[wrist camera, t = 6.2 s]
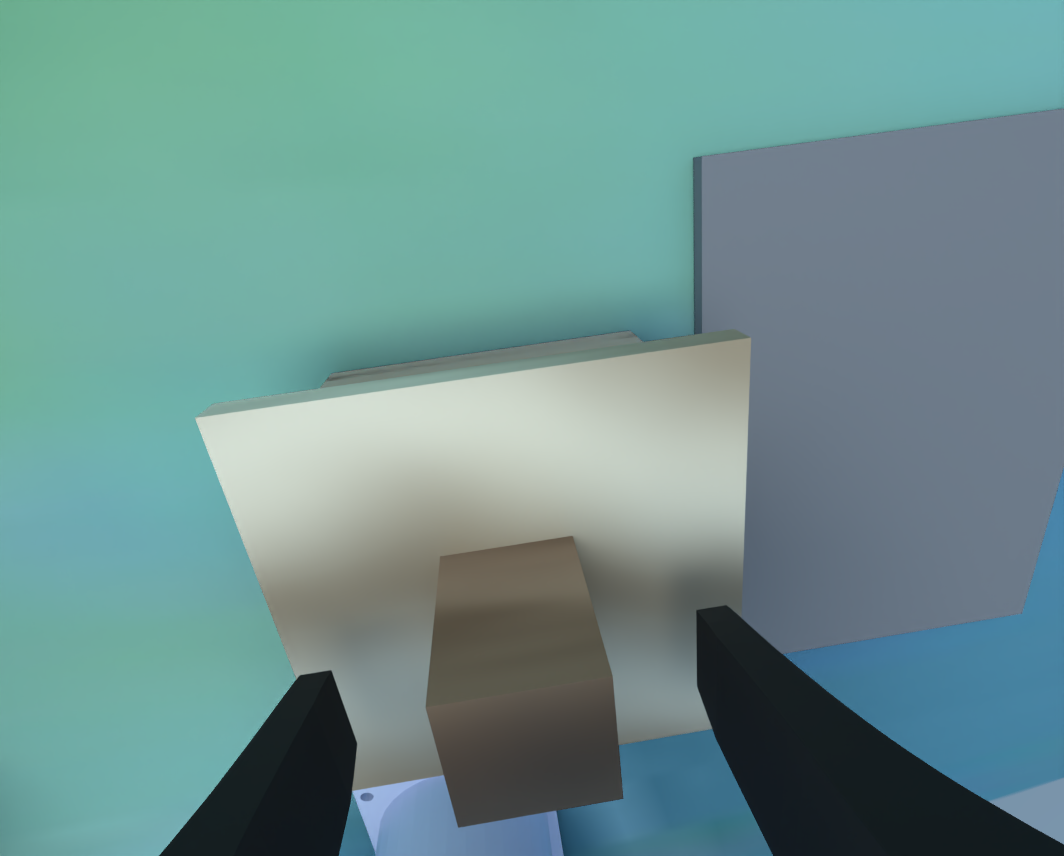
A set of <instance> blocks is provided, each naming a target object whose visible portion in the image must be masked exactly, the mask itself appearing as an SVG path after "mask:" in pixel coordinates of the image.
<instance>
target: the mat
mask: <svg viewBox="0 0 1064 856" xmlns="http://www.w3.org/2000/svg"><path fill="white" fill-rule="evenodd" d="M694 292H695V334H702V333H709V332H716V331H723V330H730V329H735V330H737V331H739V332H741V333H743V334H745V335H747V336H749V337H751V357H750V386H749V415H748V444H747V472H746V501H745V530H744V559H743V588H742V617H741V618H742V619H743V620H744V621H746V622H747V623H748V624H749V625H750V626H751V627H752V628H753V629H754V630H756V631H757V632H758V633H759V634H760V635H761V636H762V637H763V638H765V639H766V640H767V641H768V642H769V643H770V644H771V645H772V646H774V647H775V648H776V649H777V650H778V651H779V652H780V653H782V654H785V653H791V652H797V651H803V650H808V649H814V648H820V647H826V646H832V645H838V644H844V643H850V642H856V641H862V640H868V639H874V638H880V637H886V636H891V635H897V634H903V633H909V632H915V631H921V630H927V629H933V628H939V627H945V626H951V625H957V624H963V623H969V622H974V621H980V620H986V619H992V618H998V617H1004V616H1010V615H1016V614H1022V611H1023V608H1024V604H1025V601H1026V597H1027V594H1028V590H1029V587H1030V583H1031V580H1032V576H1033V573H1034V569H1035V566H1036V562H1037V559H1038V555H1039V552H1040V548H1041V545H1042V541H1043V538H1044V534H1045V531H1046V527H1047V524H1048V520H1049V517H1050V513H1051V510H1052V506H1053V503H1054V499H1055V496H1056V492H1057V489H1058V485H1059V482H1060V478H1061V475H1062V471H1063V468H1064V109H1057V110H1050V111H1042V112H1034V113H1027V114H1019V115H1012V116H1004V117H997V118H989V119H982V120H974V121H966V122H959V123H951V124H944V125H936V126H929V127H921V128H913V129H906V130H898V131H891V132H883V133H876V134H868V135H861V136H853V137H845V138H838V139H830V140H823V141H815V142H808V143H800V144H792V145H785V146H777V147H770V148H762V149H755V150H747V151H740V152H732V153H724V154H717V155H709V156H702V157H696V158H694Z"/></svg>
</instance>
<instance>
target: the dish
mask: <svg viewBox="0 0 1064 856" xmlns="http://www.w3.org/2000/svg"><path fill="white" fill-rule="evenodd" d="M639 342H643V341H642V340H640V339H639V338H638V337H637V336H636V335H635V334H634V333H632V332H631V331H623V332H616V333H609V334H602V335H595V336H588V337H582V338H575V339H568V340H561V341H554V342H547V343H540V344H533V345H526V346H519V347H512V348H505V349H498V350H491V351H484V352H477V353H470V354H463V355H456V356H449V357H443V358H436V359H429V360H422V361H415V362H408V363H401V364H394V365H387V366H380V367H373V368H366V369H359V370H352V371H345V372H338V373H332V374H331V375H330V376H329V377H328V379H327V380H326V381H325V382H324V384H323V385H322V386H321V387H320V388H326V387H333V386H340V385H347V384H354V383H361V382H368V381H375V380H382V379H389V378H396V377H403V376H410V375H417V374H424V373H431V372H438V371H445V370H452V369H459V368H466V367H473V366H479V365H486V364H493V363H500V362H507V361H514V360H521V359H528V358H535V357H542V356H549V355H556V354H563V353H570V352H577V351H584V350H591V349H598V348H605V347H612V346H619V345H626V344H633V343H639Z"/></svg>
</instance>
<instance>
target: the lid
mask: <svg viewBox="0 0 1064 856" xmlns="http://www.w3.org/2000/svg"><path fill="white" fill-rule="evenodd" d="M750 357H751V337H749V336H747V335H745V334H743V333H741V332H739V331H737V330H735V329H730V330H723V331H716V332H709V333H702V334H695V335H688V336H681V337H674V338H667V339H660V340H653V341H646V342H639V343H633V344H626V345H619V346H612V347H605V348H598V349H591V350H584V351H577V352H570V353H563V354H556V355H549V356H542V357H535V358H528V359H521V360H514V361H507V362H500V363H493V364H486V365H479V366H473V367H466V368H459V369H452V370H445V371H438V372H431V373H424V374H417V375H410V376H403V377H396V378H389V379H382V380H375V381H368V382H361V383H354V384H347V385H340V386H333V387H326V388H319V389H313V390H306V391H299V392H292V393H285V394H278V395H271V396H264V397H257V398H250V399H243V400H236V401H229V402H222V403H215V404H212V405H211V406H210V407H208V408H207V409H206V410H205V411H203V412H202V413H201V414H199V415H198V416H197V417H196V418H195V419H196V422H197V424H198V427H199V430H200V432H201V435H202V437H203V440H204V442H205V445H206V448H207V450H208V453H209V455H210V458H211V461H212V463H213V466H214V468H215V471H216V473H217V476H218V479H219V481H220V484H221V486H222V489H223V491H224V494H225V497H226V499H227V502H228V504H229V507H230V509H231V512H232V515H233V517H234V520H235V522H236V525H237V528H238V530H239V533H240V535H241V538H242V540H243V543H244V546H245V548H246V551H247V553H248V556H249V558H250V561H251V564H252V566H253V569H254V571H255V574H256V576H257V579H258V582H259V584H260V587H261V589H262V592H263V594H264V597H265V600H266V602H267V605H268V607H269V610H270V613H271V615H272V618H273V620H274V623H275V625H276V628H277V631H278V633H279V636H280V638H281V641H282V643H283V646H284V649H285V651H286V654H287V656H288V659H289V661H290V664H291V667H292V669H293V672H294V674H295V677H296V679H297V678H298V677H299V676H300V675H304V674H310V673H316V672H322V671H328V670H332V673H333V676H334V679H335V682H336V685H337V687H338V690H339V693H340V696H341V699H342V702H343V704H344V707H345V710H346V713H347V716H348V718H349V721H350V724H351V727H352V730H353V733H354V735H355V738H356V741H357V752H356V761H355V771H354V779H353V787H352V791H355V790H361V789H367V788H372V787H378V786H384V785H390V784H396V783H401V782H407V781H413V780H419V779H425V778H430V777H436V776H442V775H444V777H445V781H446V785H447V789H448V792H449V796H450V800H451V803H452V807H453V811H454V814H455V818H456V822H457V825H458V828H460V827H466V826H472V825H477V824H483V823H489V822H494V821H500V820H506V819H511V818H517V817H523V816H528V815H534V814H540V813H545V812H551V811H557V810H562V809H568V808H574V807H579V806H585V805H591V804H596V803H602V802H608V801H613V800H619V799H623V790H622V778H621V766H620V755H619V745H622V744H628V743H633V742H639V741H645V740H651V739H657V738H662V737H668V736H674V735H680V734H686V733H691V732H697V731H703V730H709V729H712V726H711V724H710V721H709V718H708V716H707V713H706V710H705V707H704V705H703V702H702V699H701V696H700V693H699V691H698V688H697V636H696V610H699V609H705V608H711V607H717V606H724V605H727V606H728V607H730V608H731V609H732V610H733V611H734V612H736V613H737V614H738V615H739V616H740V617H742V588H743V559H744V530H745V501H746V472H747V444H748V415H749V386H750Z"/></svg>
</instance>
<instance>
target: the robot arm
mask: <svg viewBox="0 0 1064 856" xmlns="http://www.w3.org/2000/svg"><path fill="white" fill-rule="evenodd" d="M696 636H697V688H698V691H699V693H700V696H701V699H702V702H703V705H704V707H705V710H706V713H707V716H708V718H709V721H710V724H711V726H712V729H713V732H714V734H715V737H716V740H717V742H718V744H719V746H720V748H721V750H722V752H723V754H724V756H725V758H726V760H727V762H728V764H729V767H730V769H731V771H732V773H733V775H734V777H735V779H736V781H737V783H738V785H739V787H740V789H741V791H742V793H743V795H744V797H745V799H746V801H747V803H748V805H749V807H750V809H751V811H752V813H753V815H754V817H755V819H756V822H757V824H758V826H759V828H760V830H761V832H762V834H763V836H764V838H765V840H766V842H767V844H768V846H769V848H770V850H771V852H772V854H773V856H1064V845H1063V844H1062V843H1060V842H1058V841H1056V840H1055V839H1053V838H1051V837H1049V836H1047V835H1045V834H1044V833H1042V832H1040V831H1038V830H1036V829H1034V828H1033V827H1031V826H1029V825H1028V824H1026V823H1024V822H1023V821H1021V820H1019V819H1017V818H1016V817H1014V816H1012V815H1011V814H1009V813H1007V812H1005V811H1004V810H1002V809H1000V808H998V807H997V806H995V805H993V804H992V803H990V802H988V801H986V800H985V799H983V798H981V797H980V796H978V795H976V794H974V793H973V792H971V791H969V790H968V789H966V788H964V787H963V786H961V785H960V784H958V783H956V782H955V781H953V780H952V779H950V778H948V777H947V776H945V775H944V774H942V773H940V772H939V771H937V770H936V769H934V768H933V767H931V766H930V765H928V764H927V763H925V762H924V761H922V760H921V759H919V758H918V757H916V756H915V755H913V754H912V753H910V752H909V751H907V750H906V749H904V748H903V747H901V746H900V745H898V744H897V743H896V742H894V741H893V740H891V739H890V738H888V737H887V736H886V735H884V734H883V733H882V732H880V731H879V730H877V729H876V728H875V727H873V726H872V725H871V724H869V723H868V722H867V721H865V720H864V719H863V718H861V717H860V716H859V715H857V714H856V713H855V712H853V711H852V710H851V709H849V708H848V707H847V706H845V705H844V704H843V703H841V702H840V701H839V700H838V699H836V698H835V697H834V696H832V695H831V694H830V693H829V692H827V691H826V690H825V689H824V688H822V687H821V686H820V685H819V684H818V683H816V682H815V681H814V680H813V679H811V678H810V677H809V676H808V675H807V674H805V673H804V672H803V671H802V670H801V669H799V668H798V667H797V666H796V665H794V664H793V663H792V662H791V661H790V660H789V659H787V658H786V657H785V656H784V655H783V654H782V653H780V652H779V651H778V650H777V649H776V648H775V647H774V646H772V645H771V644H770V643H769V642H768V641H767V640H766V639H765V638H763V637H762V636H761V635H760V634H759V633H758V632H757V631H756V630H754V629H753V628H752V627H751V626H750V625H749V624H748V623H747V622H746V621H744V620H743V619H742V618H741V617H740V616H739V615H738V614H737V613H736V612H734V611H733V610H732V609H731V608H730V607H728V606H727V605H724V606H717V607H711V608H705V609H699V610H696ZM356 752H357V741H356V738H355V735H354V733H353V730H352V727H351V724H350V721H349V718H348V716H347V713H346V710H345V707H344V704H343V702H342V699H341V696H340V693H339V690H338V687H337V685H336V682H335V679H334V676H333V673H332V670H328V671H322V672H316V673H310V674H304V675H300V676H299V677H298V678H297V679H296V681H295V682H294V683H293V685H292V686H291V687H290V689H289V690H288V691H287V693H286V694H285V695H284V697H283V698H282V699H281V701H280V702H279V703H278V705H277V706H276V708H275V709H274V710H273V712H272V713H271V714H270V716H269V717H268V718H267V720H266V721H265V723H264V724H263V725H262V727H261V728H260V729H259V731H258V732H257V733H256V735H255V736H254V737H253V739H252V740H251V741H250V743H249V744H248V745H247V747H246V748H245V749H244V751H243V752H242V753H241V755H240V756H239V757H238V759H237V760H236V761H235V762H234V764H233V765H232V766H231V768H230V769H229V770H228V772H227V773H226V774H225V776H224V777H223V778H222V779H221V781H220V782H219V783H218V785H217V786H216V787H215V789H214V790H213V791H212V792H211V794H210V795H209V796H208V797H207V799H206V800H205V801H204V802H203V803H202V805H201V806H200V807H199V808H198V810H197V811H196V812H195V813H194V814H193V816H192V817H191V818H190V819H189V821H188V822H187V823H186V824H185V825H184V827H183V828H182V829H181V830H180V831H179V833H178V834H177V835H176V836H175V838H174V839H173V840H172V841H171V842H170V844H169V845H168V846H167V847H166V848H165V849H164V851H163V852H162V853H161V854H160V855H159V856H339V851H340V847H341V843H342V838H343V834H344V829H345V825H346V821H347V816H348V811H349V807H350V802H351V795H352V792H353V794H354V797H355V800H356V802H357V805H358V808H359V810H360V813H361V816H362V818H363V821H364V824H365V826H366V829H367V832H368V834H369V837H370V840H371V842H372V845H373V847H374V850H375V853H376V854H375V856H564V854H563V848H562V842H561V836H560V830H559V824H558V817H557V811H551V812H545V813H540V814H534V815H528V816H523V817H517V818H511V819H506V820H500V821H494V822H489V823H483V824H477V825H472V826H466V827H460V828H458V825H457V822H456V818H455V814H454V811H453V807H452V803H451V800H450V796H449V792H448V789H447V785H446V781H445V777H444V775H442V776H436V777H430V778H425V779H419V780H413V781H407V782H401V783H396V784H390V785H384V786H378V787H372V788H367V789H361V790H355V791H352V787H353V779H354V771H355V761H356Z"/></svg>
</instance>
